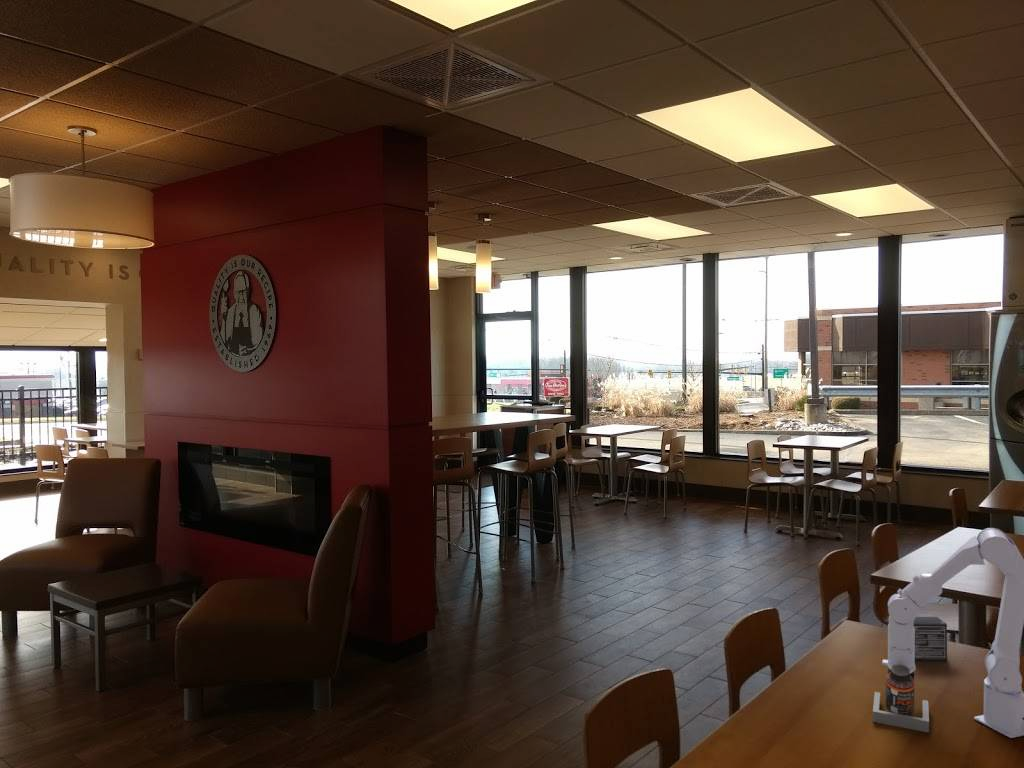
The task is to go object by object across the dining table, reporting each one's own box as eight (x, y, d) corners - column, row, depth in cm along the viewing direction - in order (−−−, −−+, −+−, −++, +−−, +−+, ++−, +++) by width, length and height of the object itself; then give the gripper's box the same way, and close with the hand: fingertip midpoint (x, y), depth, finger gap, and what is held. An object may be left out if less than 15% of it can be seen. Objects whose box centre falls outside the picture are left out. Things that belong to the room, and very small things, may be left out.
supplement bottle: (898, 721, 177) (898, 681, 173) (880, 705, 182) (879, 665, 179) (920, 713, 178) (920, 673, 175) (901, 697, 184) (901, 658, 180)
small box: (937, 652, 215) (937, 615, 215) (948, 662, 209) (948, 624, 208) (898, 651, 216) (898, 615, 216) (907, 661, 210) (907, 623, 209)
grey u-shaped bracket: (874, 701, 186) (874, 691, 186) (928, 711, 181) (928, 700, 181) (872, 721, 176) (872, 711, 176) (928, 732, 171) (929, 721, 171)
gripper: (883, 632, 191) (883, 686, 191) (881, 653, 178) (881, 710, 178) (915, 637, 187) (915, 691, 188) (915, 658, 175) (915, 717, 175)
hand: (900, 701), depth 183 cm, fingers closed
